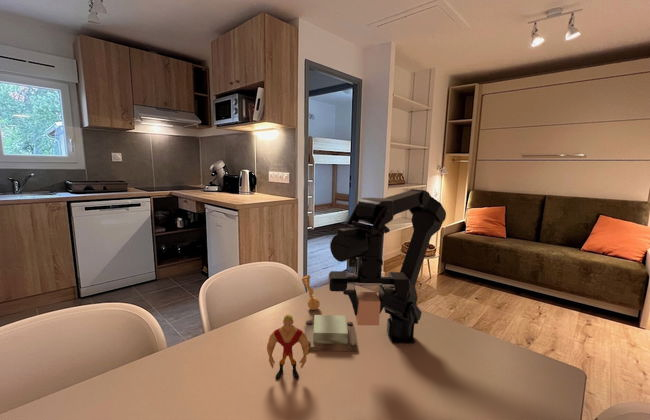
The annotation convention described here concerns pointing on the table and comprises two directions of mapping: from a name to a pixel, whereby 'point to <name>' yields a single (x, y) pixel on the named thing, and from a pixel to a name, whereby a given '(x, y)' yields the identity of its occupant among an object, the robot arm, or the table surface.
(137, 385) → the table surface
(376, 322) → the terracotta brick
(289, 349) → the action figure
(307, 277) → the figurine
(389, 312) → the robot arm
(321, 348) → the tower base
